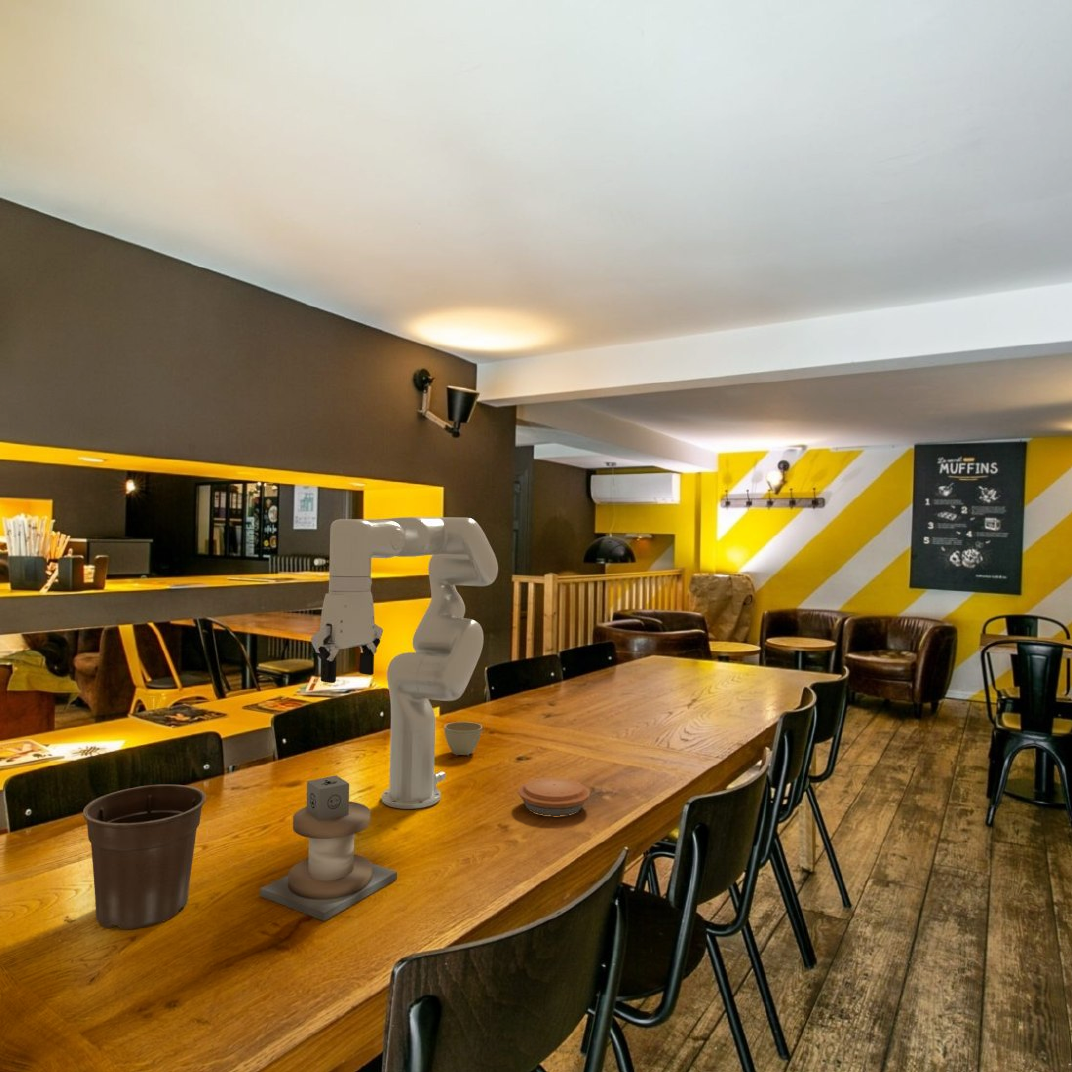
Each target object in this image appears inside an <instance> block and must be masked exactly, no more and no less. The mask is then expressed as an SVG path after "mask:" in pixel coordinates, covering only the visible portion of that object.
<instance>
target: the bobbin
mask: <svg viewBox="0 0 1072 1072" xmlns="http://www.w3.org/2000/svg"><path fill="white" fill-rule="evenodd" d="M306 808H307V806H305V807H302V808H300V809H299V810H298V811H296V812H295V813H294V815H293V816H292V830H293V831H294V833H295V834H297V835H299V836H301V837H304V838H308V858H306V859H304V860H302V861H300V862H297V863H296V864H295V865H294V866H292V867H291V868H290V870H289V872H288V874H287V875H286V876H283V877H281V878H279V879H277V880H275V881H273V882H270V883H268V884H267V885H265V886H263V887H260V888H259V896H260V897H262V898H263V899H266V900H269V901H270V902H275V903H276V904H280V905H281V906H284V907H286V908H290V909H292V910H295V911H297V912H299V913H302V914H304V915H308V916H310V917H313V918H315V919H318V920H320V921H323V922H326V921H328V920H329V919H331V918H332V917H334V916H336V915H337V914H339V913H341V912H342V911H344V910H346V909H348V908H350V907H352V906H353V905H355V904H356V903H358V902H360V901H362V900H364V899H365V898H367V897H368V896H370V895H372V894H374V893H376V892H377V891H379V890H380V889H382V888H384V887H386V886H387V885H389V884H390V883H393V882H394V881H396V880H397V879H398V871H396V870H393V869H390V868H387V867H384V866H381V865H378V864H376V863H375V864H374V863H372V862H371V861H370V860H369V859H367V857H364V856H361V855H358V854H354V852H355V850H354V849H355V834H358V833H360V832H362V831H364V830H366V829H367V828H368V826H370V824H371V809H370V808H369V807H368V806H366V805H365V804H362V803H359V802H356V801H349V814H348V815H344V816H340V817H336V818H331V819H327V820H323V821H317V820H316V819H315V818H314V817H312V816H311V815H310V814H309V813H307V812H306Z"/></svg>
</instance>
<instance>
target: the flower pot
mask: <svg viewBox="0 0 1072 1072" xmlns="http://www.w3.org/2000/svg"><path fill="white" fill-rule="evenodd" d="M443 727H444V728H443V729H444V736H445V739H446V743H447V745H448V747H449V749H450V751H451V752H452V754H453V755H454V754H455V755H454V756H458V755H467V756H470V755H469V754H471V753H472V754H473V753H474V751H475V749H477V745H478V744H479V741H480V738H481V735H482V730H483V726H482V724H479V723H477V722H471V721H457V722H455V721H454V722H450V723H449V722H448V723H446V724H445V725H444V726H443ZM472 754H471V755H472Z"/></svg>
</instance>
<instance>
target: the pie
mask: <svg viewBox="0 0 1072 1072" xmlns="http://www.w3.org/2000/svg"><path fill="white" fill-rule="evenodd" d="M517 794H518V795H519V797H520V799H522V801H523V803H524V805H525V806H527V807H526V808H527V809H529V810H531V811H532V812H535V813H538V814H543V815H551V816H560V815H569V814H572V813H575V812H577V811H579V812H580V810H581V809H582V808H583V805H584V804H585V803H586V802H587V801H588V799H589V798H590V795H591V790H590V789H589V788H588V787H586V786H585V785H584V784H582V783H580V782H578V781H577V780H573V779H570V778H566V777H565V778H564V777H559V776H558V777H556V776H553V777H552V776H548V777H547V776H546V777H538V778H534V779H531V780H529V781H527V782H525V783H523V784H521V785H520V786H519V787H518V788H517ZM529 810H528V811H529ZM531 811H530V812H531ZM532 812H531V813H532ZM577 813H578V812H577Z"/></svg>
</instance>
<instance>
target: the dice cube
mask: <svg viewBox="0 0 1072 1072" xmlns="http://www.w3.org/2000/svg"><path fill="white" fill-rule="evenodd" d="M349 802H350V783H349V782H348V781H346V780H345V779H343V778H341V777H340V776H338V775H330V776H324V777H322V778H316V779H310V780H307V781H306V807H307V808H306V812H307V813H309V814H310V815H311V816H312V817H314V818H315V819H316V820H317V821H323V820H327V819H331V818H336V817H340V816H344V815H348V814H349Z"/></svg>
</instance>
